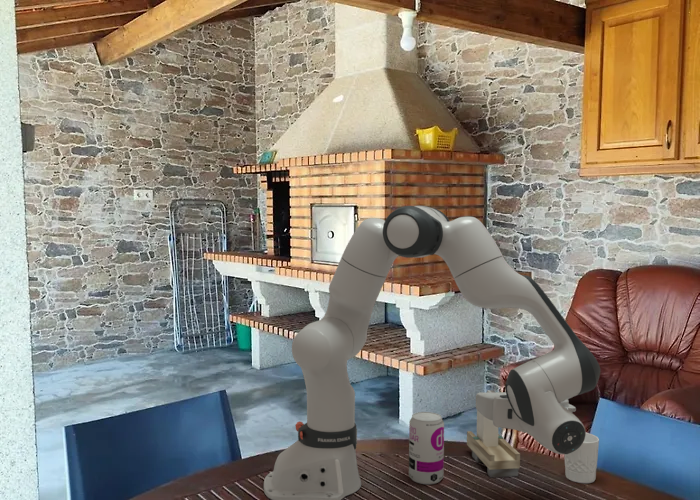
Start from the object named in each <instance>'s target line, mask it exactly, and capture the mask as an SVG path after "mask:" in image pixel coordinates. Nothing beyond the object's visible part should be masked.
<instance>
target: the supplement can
mask: <svg viewBox="0 0 700 500" xmlns="http://www.w3.org/2000/svg"><path fill="white" fill-rule="evenodd" d="M408 427H409V428H408V430H409V433H408V435H409V436H408V437H409V438H408V446H409V447H408V450H409V451H408V477H409V478H410V479H411V480H412V481H413V482H415V483H417V484H421V485H435V484H437V483H439V482H441V480H442V479H443V478H444V471H445V470H444V469H445V467H444V465H445V463H444V460H445V459H444V457H445V456H444V455H445V447H444V446H445V422H444V420H443V417H442V415H441V414H439V413H436V412H431V411H418V412H414V413H413V414H412V415H411V418H410V419H409V426H408Z"/></svg>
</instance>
